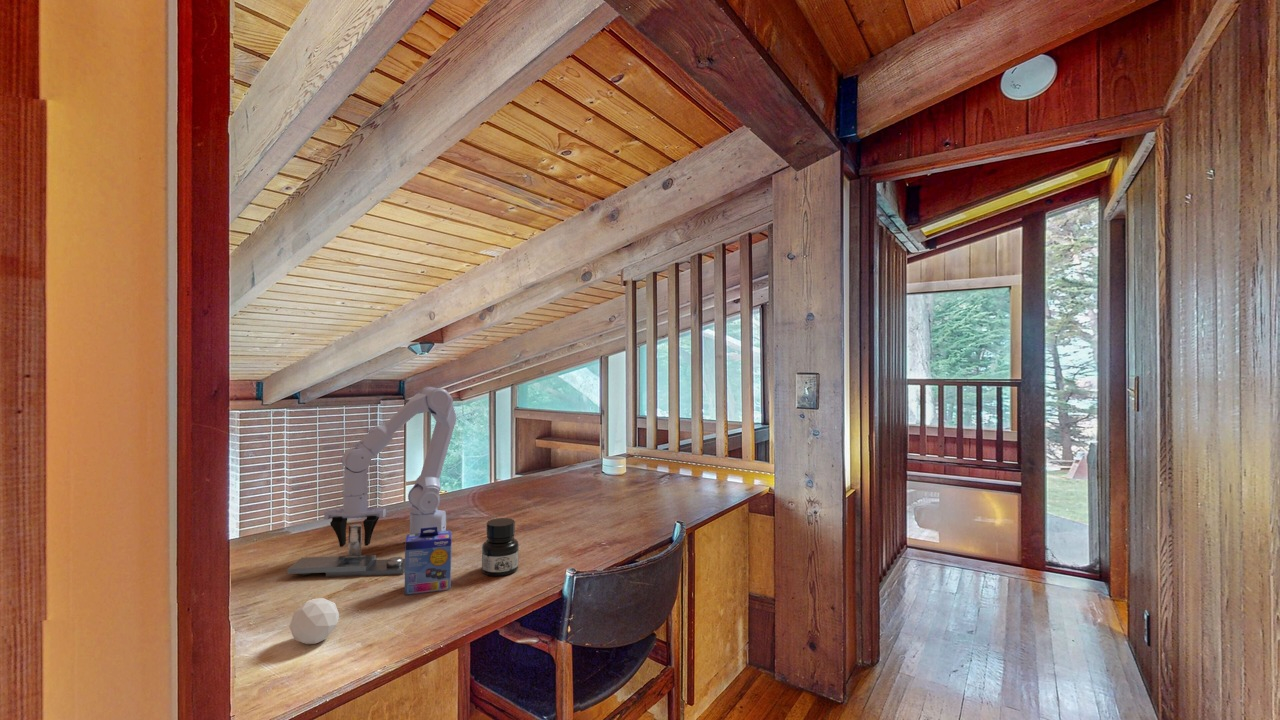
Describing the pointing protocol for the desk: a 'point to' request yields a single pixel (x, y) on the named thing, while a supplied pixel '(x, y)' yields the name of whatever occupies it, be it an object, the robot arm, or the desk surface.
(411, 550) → the ink cartridge box
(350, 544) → the steel pin
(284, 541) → the desk surface
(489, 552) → the ink bottle
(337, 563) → the end link upper
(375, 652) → the desk surface
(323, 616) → the ball
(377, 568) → the end link lower
